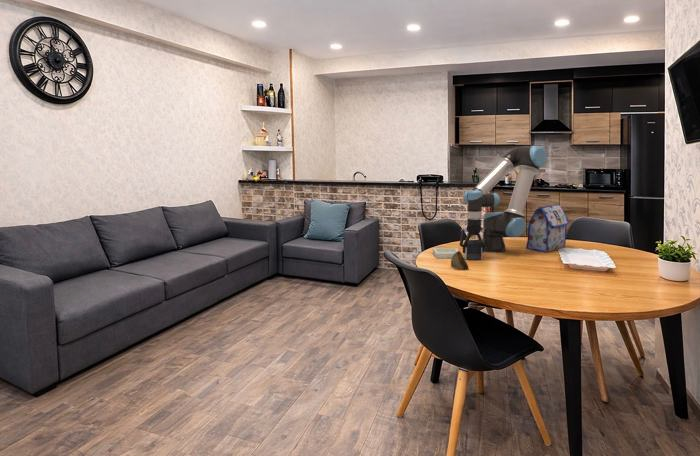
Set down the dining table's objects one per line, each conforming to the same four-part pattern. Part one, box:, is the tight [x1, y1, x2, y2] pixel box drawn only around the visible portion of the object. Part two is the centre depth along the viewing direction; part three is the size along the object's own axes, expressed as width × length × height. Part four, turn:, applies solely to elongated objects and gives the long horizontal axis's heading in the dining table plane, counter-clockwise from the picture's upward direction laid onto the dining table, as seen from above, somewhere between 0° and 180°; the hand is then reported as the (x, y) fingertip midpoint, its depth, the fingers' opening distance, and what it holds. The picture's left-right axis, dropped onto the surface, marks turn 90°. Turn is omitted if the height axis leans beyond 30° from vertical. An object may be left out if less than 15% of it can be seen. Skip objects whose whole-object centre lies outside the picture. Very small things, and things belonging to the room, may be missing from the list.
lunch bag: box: [525, 204, 569, 254], centre depth 276 cm, size 23×17×27 cm
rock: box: [450, 250, 470, 271], centre depth 237 cm, size 11×9×10 cm
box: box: [466, 239, 482, 261], centre depth 255 cm, size 8×6×11 cm
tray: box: [432, 247, 463, 260], centre depth 265 cm, size 14×14×3 cm
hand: (473, 258), depth 256 cm, fingers closed on box, 8 cm apart
